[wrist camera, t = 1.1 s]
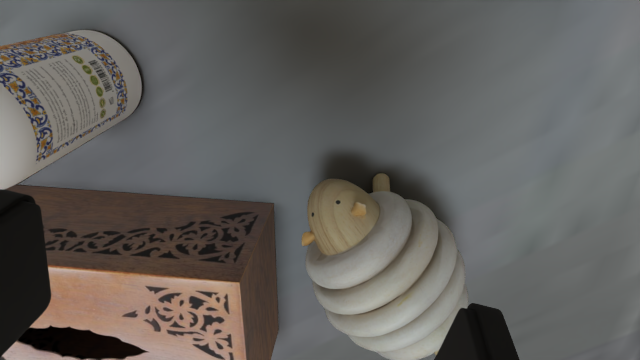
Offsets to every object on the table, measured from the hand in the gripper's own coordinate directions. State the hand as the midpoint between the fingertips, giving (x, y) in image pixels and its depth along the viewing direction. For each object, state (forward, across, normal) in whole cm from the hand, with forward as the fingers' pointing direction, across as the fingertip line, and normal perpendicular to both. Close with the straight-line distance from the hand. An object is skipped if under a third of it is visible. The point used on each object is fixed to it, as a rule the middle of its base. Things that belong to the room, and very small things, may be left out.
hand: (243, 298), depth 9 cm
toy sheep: (+23, -7, +12) cm, 27 cm away
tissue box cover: (+23, +14, +21) cm, 34 cm away
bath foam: (+23, +17, +4) cm, 29 cm away
